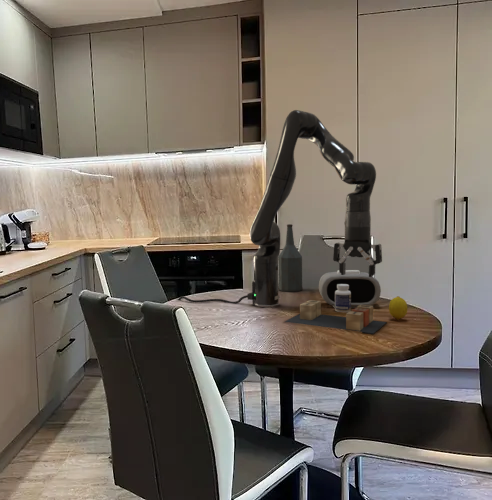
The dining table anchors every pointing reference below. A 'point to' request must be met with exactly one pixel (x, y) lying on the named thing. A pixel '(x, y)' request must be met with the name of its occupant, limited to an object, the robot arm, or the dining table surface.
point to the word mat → (336, 323)
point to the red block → (365, 315)
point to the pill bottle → (342, 298)
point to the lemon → (398, 307)
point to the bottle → (290, 265)
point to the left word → (310, 310)
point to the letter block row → (358, 318)
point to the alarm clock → (350, 287)
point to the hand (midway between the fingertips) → (356, 275)
